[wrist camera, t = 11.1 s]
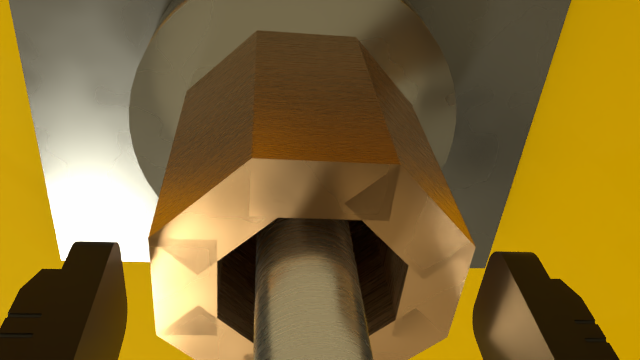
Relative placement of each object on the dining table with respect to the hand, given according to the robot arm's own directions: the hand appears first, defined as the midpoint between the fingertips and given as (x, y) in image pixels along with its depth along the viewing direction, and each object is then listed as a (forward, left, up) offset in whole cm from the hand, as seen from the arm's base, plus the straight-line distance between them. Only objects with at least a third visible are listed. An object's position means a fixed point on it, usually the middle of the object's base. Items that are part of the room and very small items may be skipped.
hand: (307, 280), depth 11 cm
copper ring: (0, 0, -6) cm, 6 cm away
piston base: (0, 0, -10) cm, 10 cm away
